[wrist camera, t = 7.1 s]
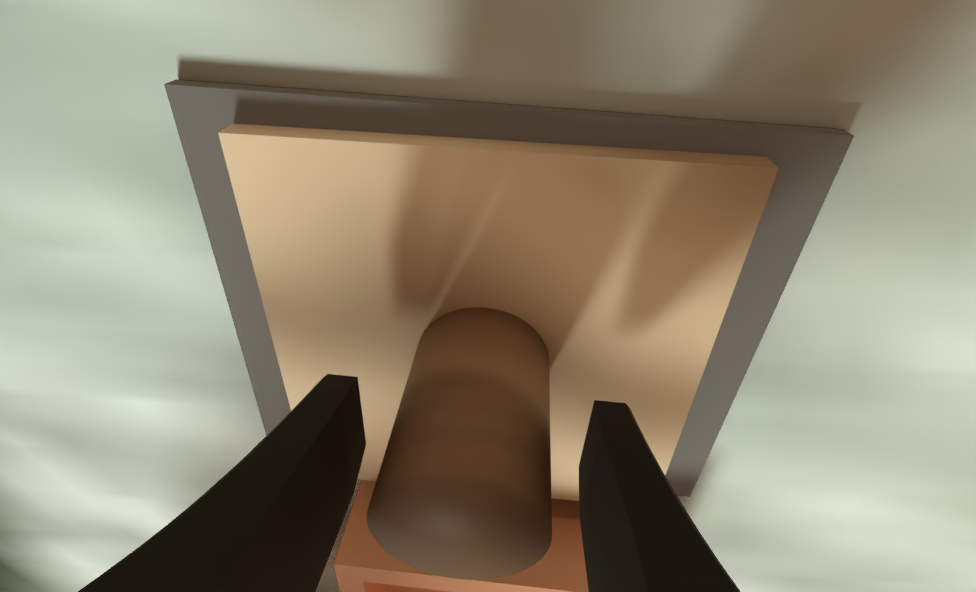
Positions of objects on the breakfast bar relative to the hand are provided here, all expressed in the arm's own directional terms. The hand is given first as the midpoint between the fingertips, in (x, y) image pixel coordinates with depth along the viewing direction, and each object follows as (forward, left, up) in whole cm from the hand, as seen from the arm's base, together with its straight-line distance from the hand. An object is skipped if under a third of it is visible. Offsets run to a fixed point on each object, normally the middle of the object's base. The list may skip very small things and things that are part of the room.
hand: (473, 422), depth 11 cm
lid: (0, 0, -3) cm, 3 cm away
